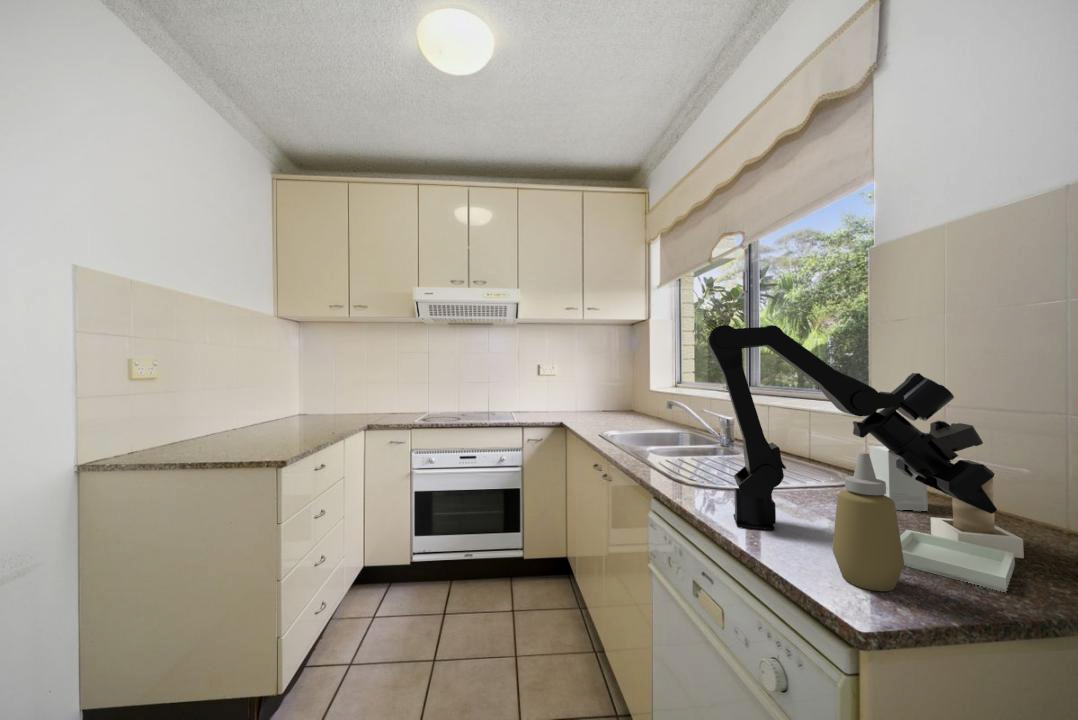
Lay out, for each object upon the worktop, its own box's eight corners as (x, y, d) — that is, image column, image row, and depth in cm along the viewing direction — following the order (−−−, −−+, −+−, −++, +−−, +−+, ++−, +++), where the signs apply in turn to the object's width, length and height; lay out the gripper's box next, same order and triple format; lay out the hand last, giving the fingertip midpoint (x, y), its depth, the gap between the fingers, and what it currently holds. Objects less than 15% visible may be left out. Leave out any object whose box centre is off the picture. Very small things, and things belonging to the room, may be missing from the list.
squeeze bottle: (882, 602, 55) (879, 461, 56) (820, 575, 62) (817, 451, 63) (918, 589, 58) (914, 456, 59) (854, 565, 66) (851, 447, 66)
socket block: (958, 551, 70) (957, 533, 71) (931, 533, 78) (930, 517, 78) (1023, 558, 68) (1023, 539, 68) (988, 539, 76) (988, 521, 76)
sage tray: (1006, 593, 57) (1005, 578, 57) (887, 561, 67) (886, 548, 67) (1014, 566, 65) (1014, 553, 65) (907, 541, 75) (906, 529, 75)
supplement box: (929, 512, 90) (927, 452, 91) (889, 510, 92) (887, 450, 92) (906, 502, 97) (905, 446, 98) (869, 500, 99) (868, 445, 99)
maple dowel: (964, 549, 71) (961, 470, 72) (947, 538, 76) (944, 464, 77) (1003, 552, 70) (1000, 472, 70) (983, 541, 75) (980, 466, 75)
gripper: (975, 412, 66) (1074, 490, 62) (913, 403, 84) (988, 464, 80) (914, 460, 68) (1006, 538, 65) (866, 442, 86) (936, 502, 82)
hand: (983, 506), depth 73 cm, fingers closed on maple dowel, 5 cm apart
